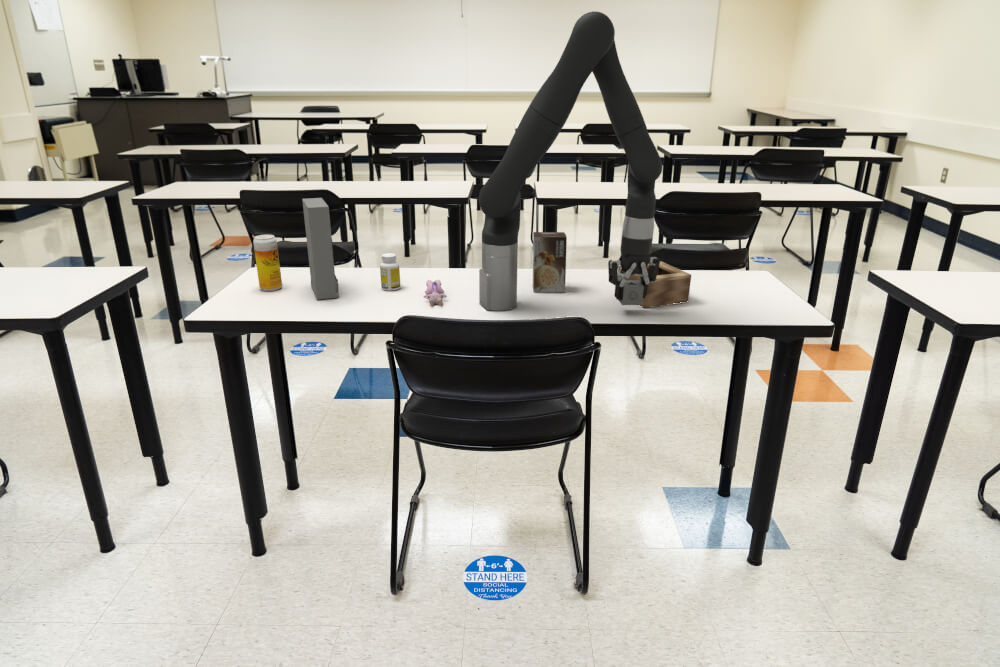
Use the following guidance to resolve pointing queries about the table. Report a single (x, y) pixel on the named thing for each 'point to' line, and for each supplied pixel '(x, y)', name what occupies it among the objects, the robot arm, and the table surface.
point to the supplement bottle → (389, 272)
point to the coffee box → (549, 261)
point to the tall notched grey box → (320, 248)
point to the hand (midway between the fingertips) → (630, 298)
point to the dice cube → (632, 293)
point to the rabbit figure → (434, 292)
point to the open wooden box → (666, 286)
